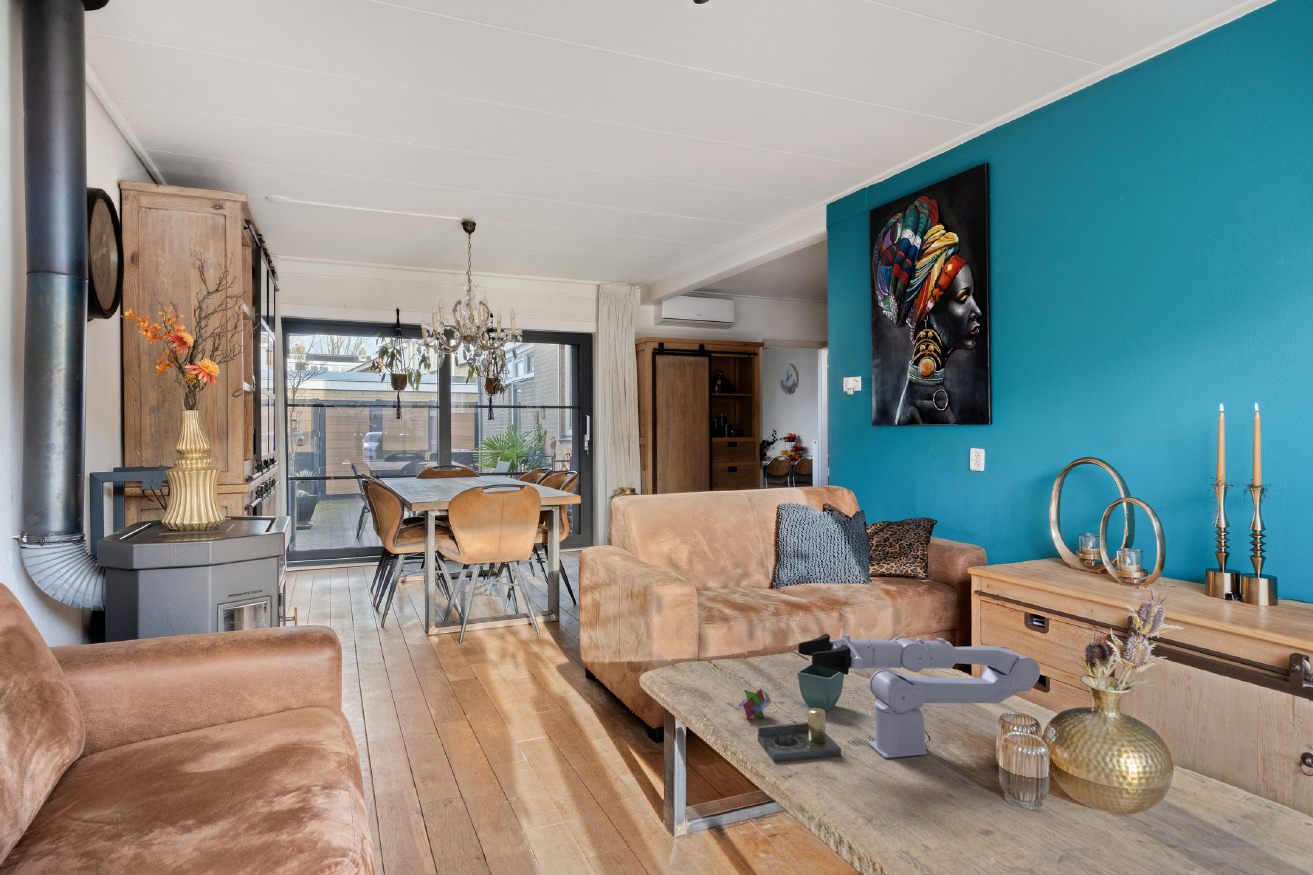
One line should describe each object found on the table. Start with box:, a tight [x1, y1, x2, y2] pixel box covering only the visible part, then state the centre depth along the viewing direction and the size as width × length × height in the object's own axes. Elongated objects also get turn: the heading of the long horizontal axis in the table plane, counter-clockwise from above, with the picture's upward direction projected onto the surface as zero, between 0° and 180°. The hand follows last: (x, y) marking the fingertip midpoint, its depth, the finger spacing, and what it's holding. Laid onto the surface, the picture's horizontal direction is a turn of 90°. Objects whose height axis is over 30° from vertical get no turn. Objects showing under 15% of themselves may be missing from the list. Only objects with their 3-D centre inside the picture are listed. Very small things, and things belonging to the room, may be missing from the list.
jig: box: [757, 721, 842, 763], centre depth 159 cm, size 14×11×3 cm
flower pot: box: [797, 663, 845, 712], centre depth 183 cm, size 9×9×9 cm
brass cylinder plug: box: [807, 708, 827, 742], centre depth 159 cm, size 4×4×6 cm
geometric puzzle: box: [738, 688, 772, 720], centre depth 177 cm, size 7×7×8 cm
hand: (805, 653), depth 154 cm, fingers open, 7 cm apart
